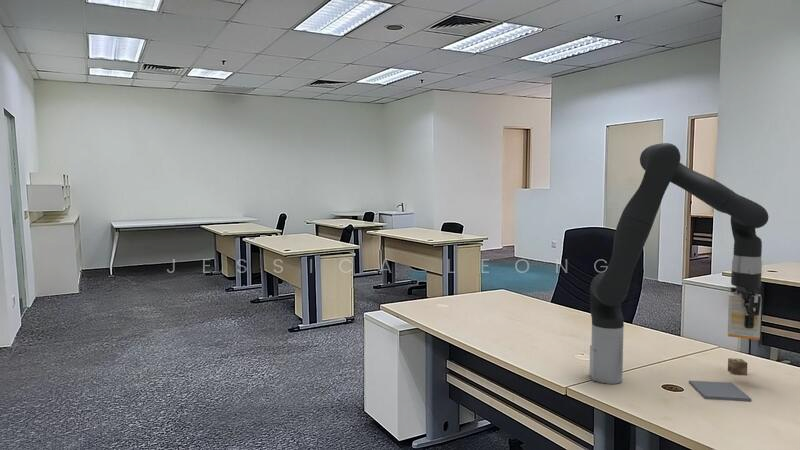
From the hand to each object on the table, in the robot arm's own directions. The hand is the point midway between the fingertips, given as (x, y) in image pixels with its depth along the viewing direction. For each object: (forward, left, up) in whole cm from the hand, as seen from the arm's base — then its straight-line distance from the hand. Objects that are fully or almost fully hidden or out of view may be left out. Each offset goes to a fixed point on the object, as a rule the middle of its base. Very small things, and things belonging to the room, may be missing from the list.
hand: (743, 324), depth 159 cm
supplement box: (0, 0, -4) cm, 4 cm away
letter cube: (+3, +9, -18) cm, 20 cm away
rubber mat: (-10, -9, -18) cm, 22 cm away
